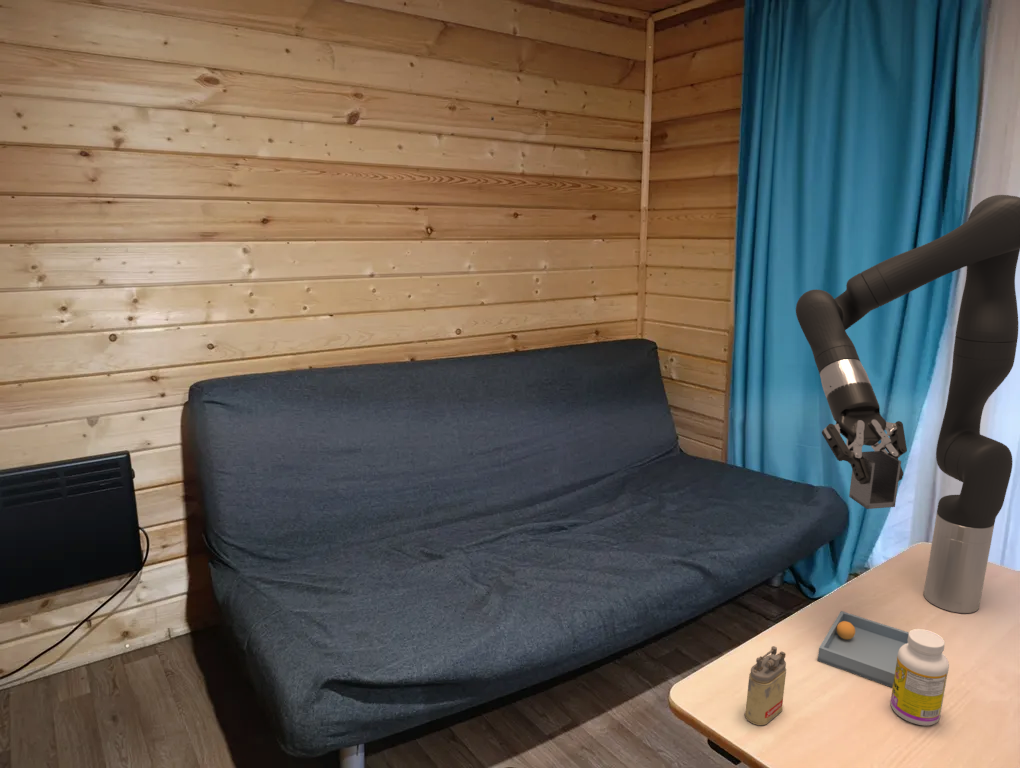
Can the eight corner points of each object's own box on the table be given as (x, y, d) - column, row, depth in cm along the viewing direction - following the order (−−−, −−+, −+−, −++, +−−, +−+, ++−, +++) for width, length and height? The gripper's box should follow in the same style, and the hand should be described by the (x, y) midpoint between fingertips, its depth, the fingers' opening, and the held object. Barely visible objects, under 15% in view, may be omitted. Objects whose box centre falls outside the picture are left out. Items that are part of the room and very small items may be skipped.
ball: (835, 622, 131) (840, 616, 128) (852, 628, 130) (858, 622, 127) (832, 637, 129) (838, 632, 126) (850, 644, 128) (856, 638, 126)
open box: (849, 496, 126) (854, 452, 123) (876, 494, 126) (882, 450, 124) (866, 509, 121) (872, 463, 119) (894, 506, 121) (901, 461, 119)
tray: (839, 622, 134) (840, 610, 133) (913, 647, 127) (915, 634, 126) (817, 660, 123) (819, 647, 123) (896, 689, 116) (898, 675, 116)
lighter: (760, 729, 108) (767, 670, 105) (738, 715, 110) (743, 657, 108) (786, 708, 112) (793, 650, 109) (764, 695, 115) (770, 639, 112)
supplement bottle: (895, 691, 116) (907, 619, 112) (943, 710, 112) (956, 635, 108) (884, 714, 111) (896, 639, 107) (934, 734, 107) (948, 657, 103)
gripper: (819, 381, 125) (852, 474, 116) (898, 379, 127) (935, 470, 118) (800, 403, 131) (830, 492, 123) (875, 400, 133) (909, 488, 125)
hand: (881, 481), depth 121 cm, fingers closed on open box, 5 cm apart
